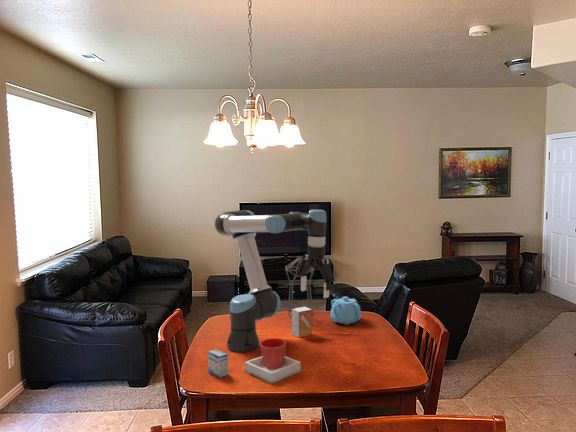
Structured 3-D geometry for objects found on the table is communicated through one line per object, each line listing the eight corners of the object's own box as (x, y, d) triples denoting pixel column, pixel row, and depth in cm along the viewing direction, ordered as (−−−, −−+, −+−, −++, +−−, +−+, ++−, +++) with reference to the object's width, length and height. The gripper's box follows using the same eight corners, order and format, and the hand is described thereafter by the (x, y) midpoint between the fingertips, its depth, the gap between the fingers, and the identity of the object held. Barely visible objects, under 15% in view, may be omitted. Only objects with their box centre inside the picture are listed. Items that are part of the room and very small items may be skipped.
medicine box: (207, 372, 199) (207, 351, 198) (216, 369, 202) (216, 348, 201) (219, 377, 193) (219, 356, 192) (228, 374, 196) (228, 353, 195)
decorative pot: (361, 326, 255) (361, 301, 254) (330, 326, 257) (330, 300, 256) (359, 317, 272) (360, 293, 270) (330, 316, 273) (330, 293, 272)
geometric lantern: (286, 326, 257) (285, 260, 254) (286, 318, 272) (284, 256, 270) (316, 325, 257) (315, 259, 255) (314, 317, 273) (313, 255, 270)
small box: (298, 337, 239) (298, 311, 238) (291, 334, 244) (291, 308, 243) (312, 334, 243) (312, 309, 242) (304, 331, 249) (304, 306, 248)
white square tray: (271, 383, 187) (271, 373, 187) (244, 371, 199) (244, 362, 199) (300, 371, 198) (300, 362, 198) (273, 360, 210) (273, 351, 210)
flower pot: (255, 367, 201) (254, 344, 200) (270, 358, 210) (270, 336, 209) (276, 372, 195) (276, 349, 194) (291, 363, 204) (291, 340, 203)
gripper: (344, 249, 205) (342, 298, 207) (301, 241, 222) (300, 286, 225) (332, 250, 199) (330, 301, 202) (290, 242, 217) (288, 289, 219)
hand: (314, 294), depth 213 cm, fingers open, 13 cm apart
